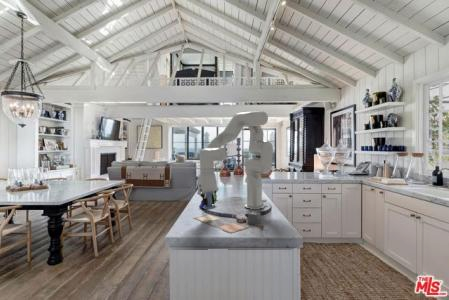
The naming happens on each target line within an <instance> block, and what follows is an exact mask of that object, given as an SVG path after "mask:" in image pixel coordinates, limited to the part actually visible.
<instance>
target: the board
mask: <svg viewBox="0 0 449 300" xmlns="http://www.w3.org/2000/svg"><path fill="white" fill-rule="evenodd" d="M192 219H193V220H196V221H198V222H201V223H203V224H206V225H208V226H211V227H214V228H217V229H219V230H221V231H223V232H226V233H228V234H233V233H236V232H239V231H244V230H246V229H249V228H250V227H248V226H246V225H243V224H240V223H236V222H234V221H231V220H228V219H225V218H223V217H219V216H216V215H213V214H210V213H209V214H205V215H201V216H196V217H192Z"/></svg>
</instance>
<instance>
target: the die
mask: <svg viewBox="0 0 449 300" xmlns="http://www.w3.org/2000/svg"><path fill="white" fill-rule="evenodd" d="M261 220H262V213H261V212H260V211H259V212H257V211H250V212H249V213H247V224H250V225H251V224H252V225H256V224H257V225H259V224H260V223H261V222H262V221H261Z"/></svg>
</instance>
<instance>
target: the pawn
mask: <svg viewBox="0 0 449 300" xmlns="http://www.w3.org/2000/svg"><path fill="white" fill-rule="evenodd" d="M206 198H207V206H204V208H203V209H204V210H213V209H214V208H215V206H214V205H215V204H214V205H212V191H209V192H207V194H206Z"/></svg>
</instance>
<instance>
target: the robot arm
mask: <svg viewBox="0 0 449 300" xmlns="http://www.w3.org/2000/svg"><path fill="white" fill-rule="evenodd" d="M268 120H269V116H268V113H267V112H265V111H263V110H261V111H260V110H259V111H246V112H238V113H236V114H234V115H233V116H232V118H231V120H230V121H229V122H228V124H227V125H226V127H225V128H224V130H223V131H222V132H220V133H219V134H218V135H216V136H215V137H214V138H213V139H211V141H210V142H209V144H208V145H207V147H206V148H200V149H199V151H198V152H199V172H200V173H199V174H198V180H197V192H196V194H197V195H198V196H199V197H201V198H202V200H203V205H205V206H207V198H206V194H207V192H209V191H212V204H214V196H215V194H216V195H217V192H218V191H219V187H218V184H217V183H218V182H217V177H216V173H215V171H216V168H215V163H214V162H223V161H225V160H226V159H227V157H228V151H227V150H226V149H225V148H224V147H223V146H225V145H226V144H228V143H231V142H234V141H235V140H237V137H238V136H239V135H240V133H241V131H242V130H243V128H248V131H249V145H248V151H249V154H250V155H251V156H252V157H248V158H247V159H246V160H245V162H244V170H245V174H246V175H245V176H246V203H245V204H244V208H245V207H246V208H245V209H247V208H250V209H249V210H261V209H260V208H262V209H265V205H264V203H267V202H268V201H267V199H263V184H262V183H263V180H262V175H261V174H264V175H266V174H269V173H270V172H271V170H272V165H273V154H274V148H273V147H274V146H273V144H272V142H270V140H265V139H264V130H263V128H262V126H264V125H266V124H267V123H268ZM253 156H255V157H253ZM256 156H258V157H256ZM214 205H215V204H214Z"/></svg>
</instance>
